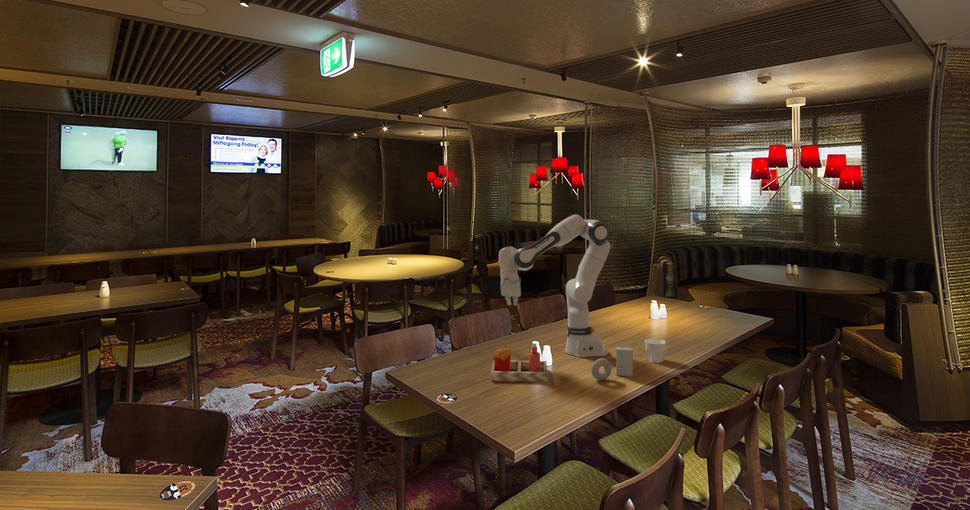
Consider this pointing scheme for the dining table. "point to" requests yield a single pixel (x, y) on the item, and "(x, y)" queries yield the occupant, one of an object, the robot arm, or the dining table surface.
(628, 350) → the supplement box
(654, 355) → the cup
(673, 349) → the dining table surface
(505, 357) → the french fries
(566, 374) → the dining table surface
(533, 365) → the ketchup bottle
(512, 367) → the caddy
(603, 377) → the donut
